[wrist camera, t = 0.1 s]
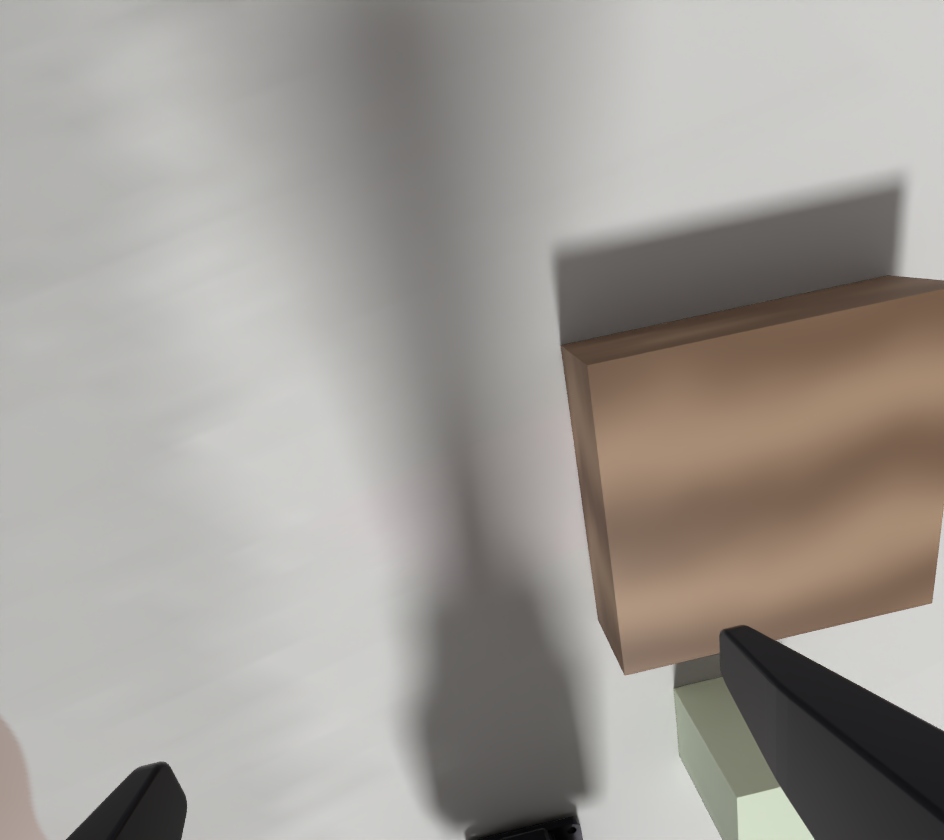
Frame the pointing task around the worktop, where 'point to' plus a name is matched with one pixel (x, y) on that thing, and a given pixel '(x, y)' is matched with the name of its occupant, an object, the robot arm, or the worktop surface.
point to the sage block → (731, 767)
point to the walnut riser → (762, 467)
